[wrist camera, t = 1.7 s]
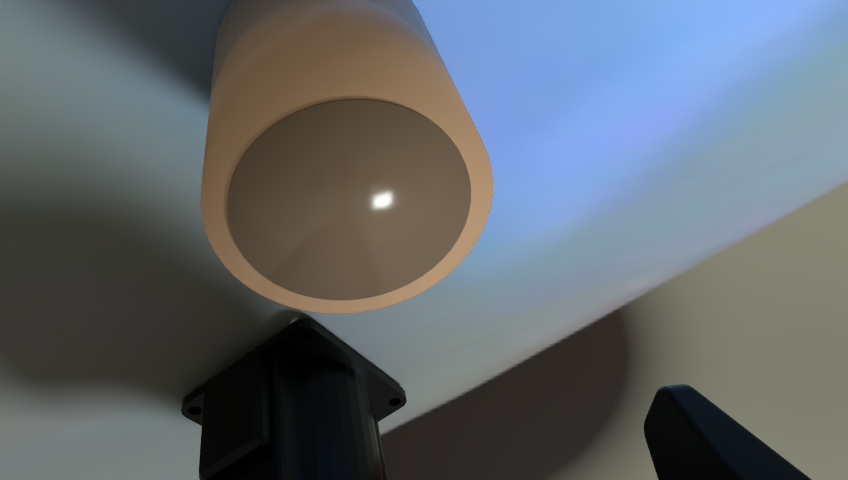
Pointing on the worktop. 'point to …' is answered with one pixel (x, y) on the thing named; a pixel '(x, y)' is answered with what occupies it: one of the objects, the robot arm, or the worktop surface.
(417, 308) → the worktop surface
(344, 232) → the terracotta cup
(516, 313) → the worktop surface
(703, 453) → the robot arm
